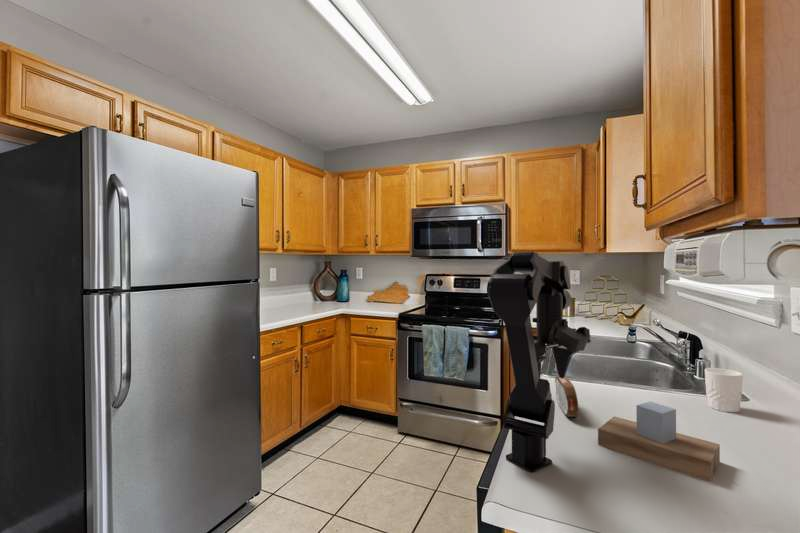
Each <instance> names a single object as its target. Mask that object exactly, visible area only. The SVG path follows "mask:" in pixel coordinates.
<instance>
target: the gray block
mask: <svg viewBox="0 0 800 533" xmlns="http://www.w3.org/2000/svg"><path fill="white" fill-rule="evenodd" d="M636 422H637V434H638V435H641V436H643V437H646V438H648V439H651V440H654V441H656V442H659V443H661V444H663V443H666V442H669V441H671V440H674V439H676V433H677V409H676V408H673V407H670V406H667V405H663V404H660V403H657V402H653V401H648V402H643V403H640V404H637V405H636Z"/></svg>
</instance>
